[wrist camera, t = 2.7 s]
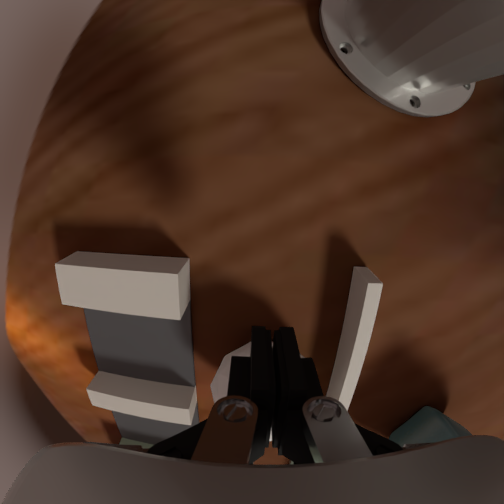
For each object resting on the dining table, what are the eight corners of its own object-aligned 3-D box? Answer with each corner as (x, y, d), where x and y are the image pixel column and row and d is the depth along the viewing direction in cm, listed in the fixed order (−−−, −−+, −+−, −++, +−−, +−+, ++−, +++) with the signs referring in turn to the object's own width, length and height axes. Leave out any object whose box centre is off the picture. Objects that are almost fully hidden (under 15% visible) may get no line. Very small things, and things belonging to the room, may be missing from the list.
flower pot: (365, 439, 25) (385, 506, 16) (429, 385, 23) (469, 449, 14) (405, 453, 26) (426, 507, 17) (460, 408, 24) (493, 459, 15)
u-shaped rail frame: (77, 251, 20) (54, 263, 17) (366, 267, 19) (382, 283, 16) (136, 466, 27) (130, 483, 25) (305, 482, 27) (308, 501, 24)
